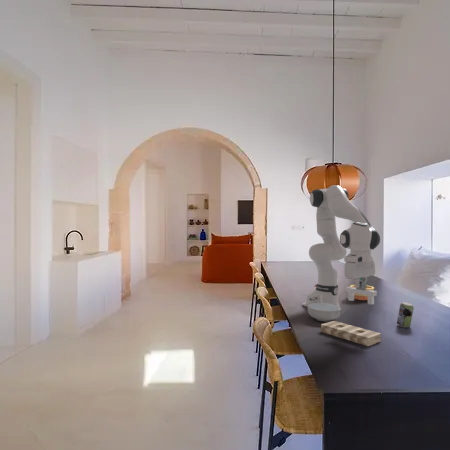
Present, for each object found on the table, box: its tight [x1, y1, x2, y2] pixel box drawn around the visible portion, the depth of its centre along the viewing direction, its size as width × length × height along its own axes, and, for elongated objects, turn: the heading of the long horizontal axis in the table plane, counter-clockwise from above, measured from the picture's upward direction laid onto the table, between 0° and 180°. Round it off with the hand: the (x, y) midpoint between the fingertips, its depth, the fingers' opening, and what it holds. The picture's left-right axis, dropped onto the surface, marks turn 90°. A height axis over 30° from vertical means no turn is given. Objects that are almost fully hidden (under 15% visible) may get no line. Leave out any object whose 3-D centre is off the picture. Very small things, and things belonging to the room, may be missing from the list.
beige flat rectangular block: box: [320, 320, 382, 347], centre depth 160 cm, size 24×10×4 cm, turn 37°
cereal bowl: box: [307, 303, 342, 323], centre depth 187 cm, size 17×17×7 cm
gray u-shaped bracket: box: [345, 280, 378, 305], centre depth 164 cm, size 14×3×10 cm, turn 38°
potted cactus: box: [349, 276, 375, 301], centre depth 237 cm, size 15×15×25 cm
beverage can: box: [396, 301, 415, 329], centre depth 175 cm, size 6×7×12 cm
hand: (360, 286), depth 164 cm, fingers closed on gray u-shaped bracket, 3 cm apart
